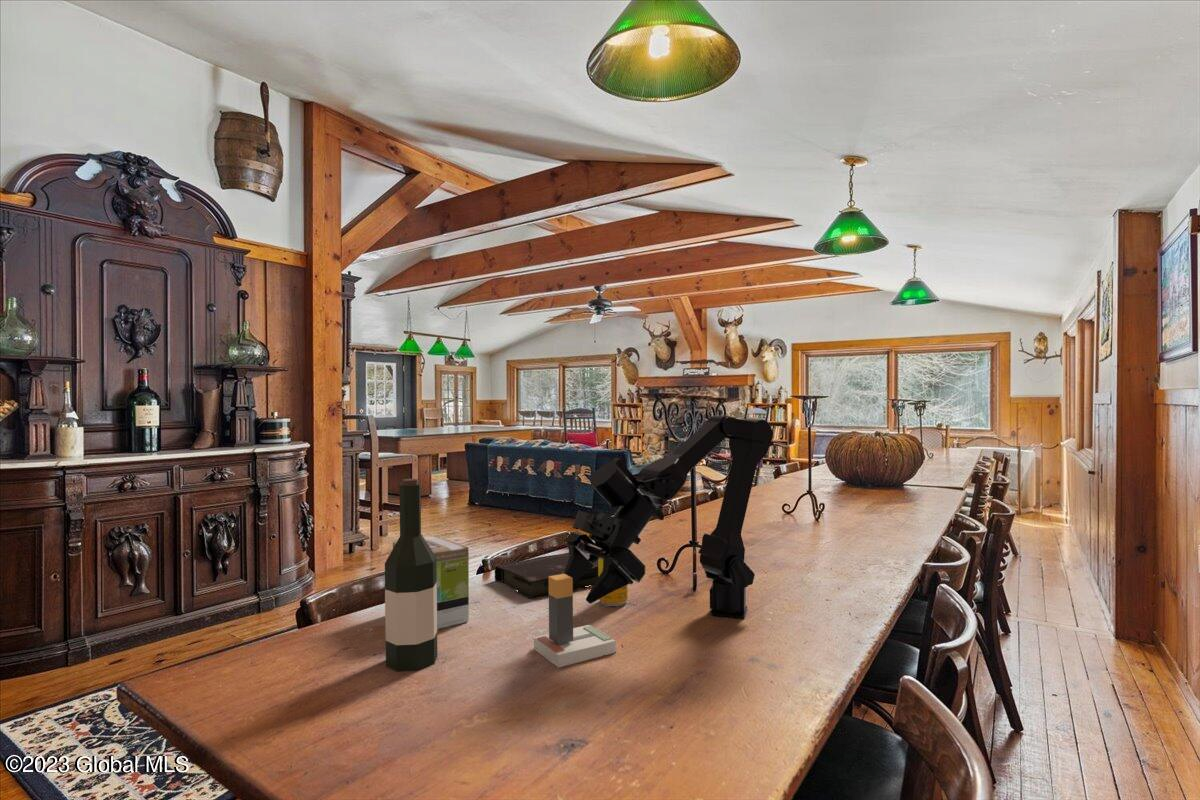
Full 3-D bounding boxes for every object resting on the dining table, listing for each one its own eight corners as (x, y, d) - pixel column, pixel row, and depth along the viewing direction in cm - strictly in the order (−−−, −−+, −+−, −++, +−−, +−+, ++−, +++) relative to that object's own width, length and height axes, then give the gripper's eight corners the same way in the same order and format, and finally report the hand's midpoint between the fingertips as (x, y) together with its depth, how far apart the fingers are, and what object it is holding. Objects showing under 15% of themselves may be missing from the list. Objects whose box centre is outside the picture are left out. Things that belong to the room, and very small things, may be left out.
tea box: (471, 622, 124) (470, 545, 124) (421, 634, 118) (420, 554, 118) (437, 603, 136) (437, 533, 136) (391, 613, 129) (390, 540, 129)
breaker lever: (564, 634, 110) (564, 573, 110) (573, 640, 108) (572, 577, 108) (549, 638, 109) (548, 576, 108) (557, 644, 106) (556, 580, 106)
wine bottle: (390, 675, 100) (387, 484, 100) (381, 656, 108) (379, 478, 107) (443, 665, 104) (441, 480, 104) (431, 647, 111) (429, 475, 111)
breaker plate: (588, 635, 116) (588, 623, 116) (615, 652, 108) (615, 639, 108) (533, 648, 110) (533, 636, 110) (558, 667, 103) (558, 653, 103)
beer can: (625, 608, 131) (624, 535, 131) (596, 606, 132) (595, 534, 132) (629, 598, 137) (629, 528, 137) (601, 597, 138) (601, 528, 138)
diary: (494, 584, 152) (493, 562, 152) (581, 566, 166) (581, 547, 166) (532, 603, 136) (532, 579, 136) (625, 582, 151) (625, 561, 151)
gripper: (574, 487, 120) (520, 554, 114) (630, 501, 104) (571, 579, 98) (610, 525, 124) (559, 591, 119) (669, 543, 108) (614, 621, 103)
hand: (574, 594), depth 109 cm, fingers open, 9 cm apart
